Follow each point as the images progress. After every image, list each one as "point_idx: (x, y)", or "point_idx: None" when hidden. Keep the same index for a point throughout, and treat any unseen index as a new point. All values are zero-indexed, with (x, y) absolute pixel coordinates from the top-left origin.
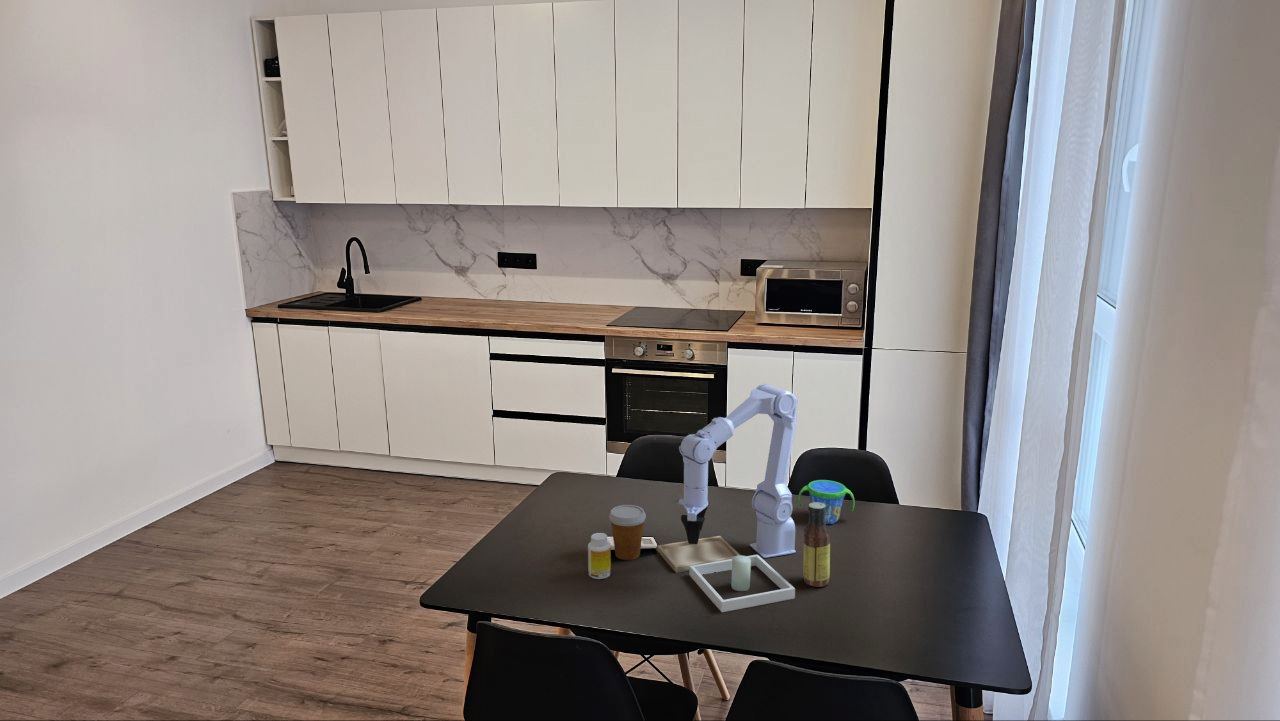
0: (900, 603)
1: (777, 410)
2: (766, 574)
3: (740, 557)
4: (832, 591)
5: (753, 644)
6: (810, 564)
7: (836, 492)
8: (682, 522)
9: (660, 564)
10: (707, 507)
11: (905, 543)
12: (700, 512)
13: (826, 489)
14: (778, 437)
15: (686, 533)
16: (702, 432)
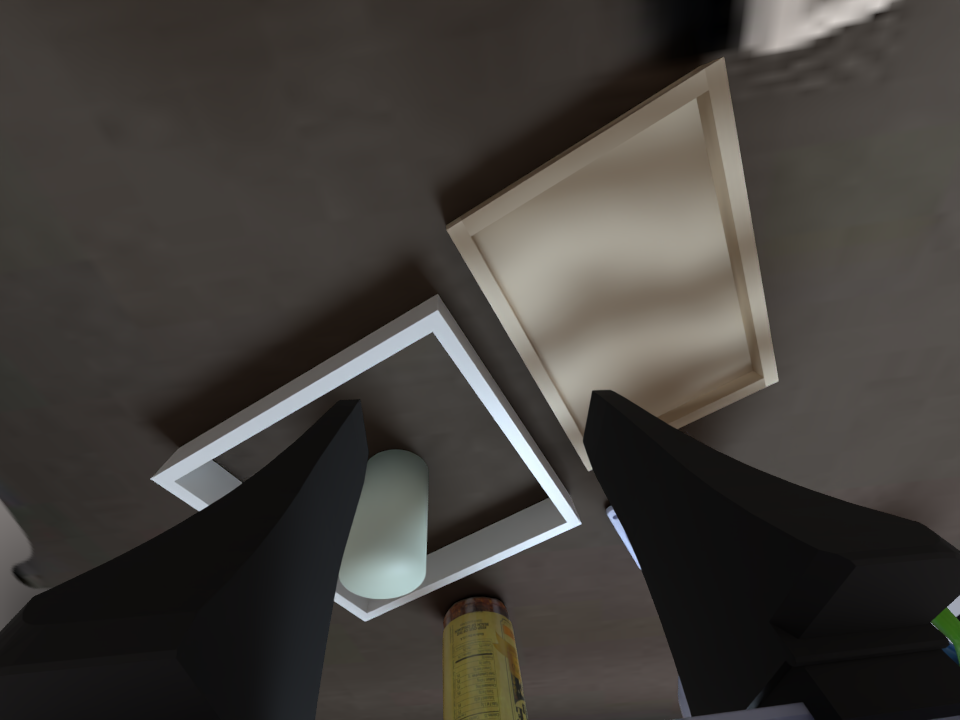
0: (417, 709)
1: None
2: (493, 526)
3: (404, 568)
4: (435, 636)
5: (37, 545)
6: (447, 685)
7: None
8: (53, 594)
9: (530, 117)
10: (688, 699)
11: (675, 693)
12: (669, 578)
13: None
14: None
15: (281, 453)
16: None
